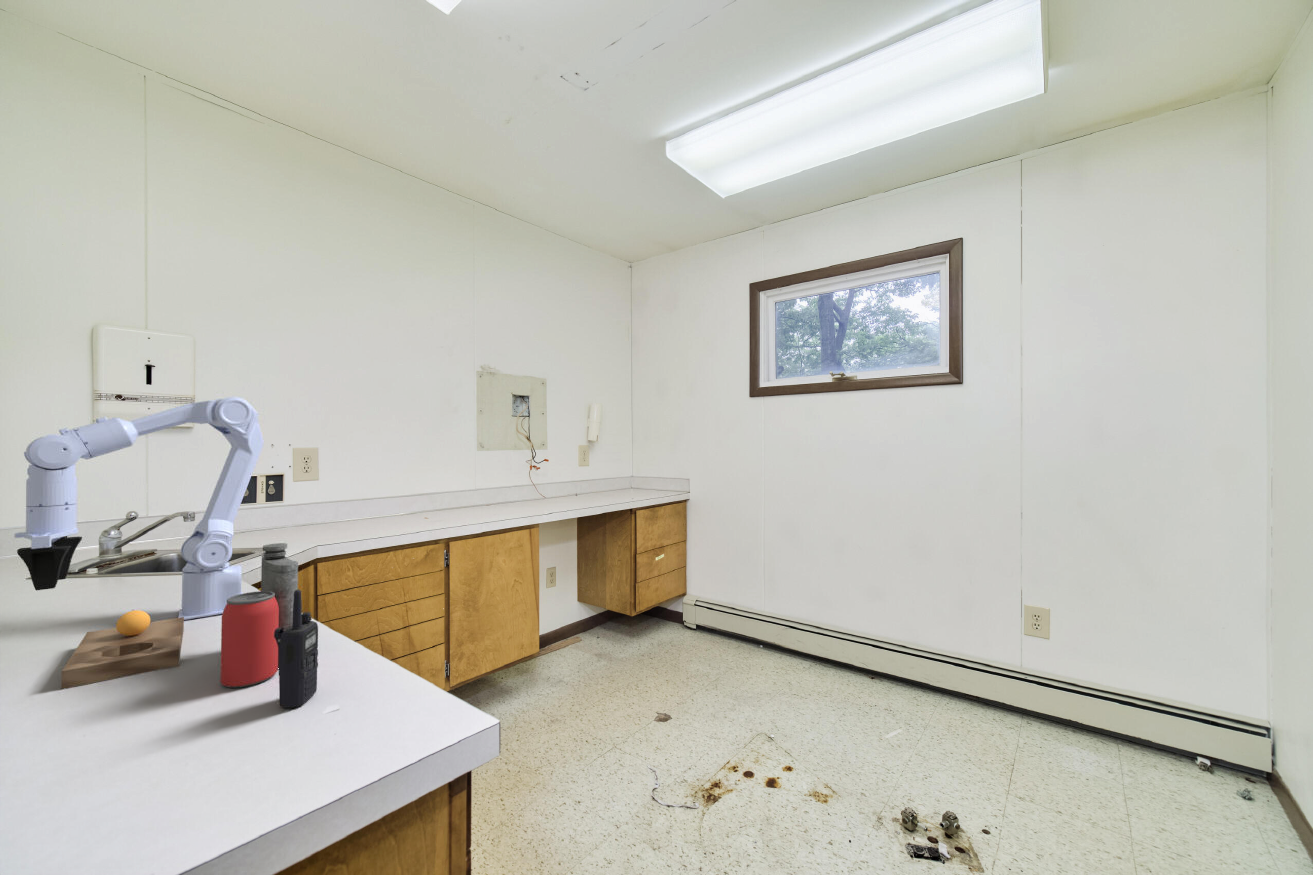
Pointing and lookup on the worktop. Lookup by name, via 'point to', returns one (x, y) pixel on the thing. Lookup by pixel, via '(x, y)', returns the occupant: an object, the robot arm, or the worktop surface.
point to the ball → (133, 623)
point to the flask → (280, 580)
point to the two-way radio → (297, 657)
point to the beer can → (249, 639)
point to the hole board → (124, 653)
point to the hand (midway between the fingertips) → (51, 584)
